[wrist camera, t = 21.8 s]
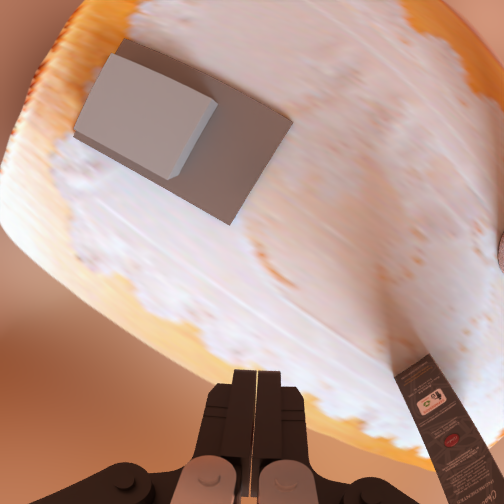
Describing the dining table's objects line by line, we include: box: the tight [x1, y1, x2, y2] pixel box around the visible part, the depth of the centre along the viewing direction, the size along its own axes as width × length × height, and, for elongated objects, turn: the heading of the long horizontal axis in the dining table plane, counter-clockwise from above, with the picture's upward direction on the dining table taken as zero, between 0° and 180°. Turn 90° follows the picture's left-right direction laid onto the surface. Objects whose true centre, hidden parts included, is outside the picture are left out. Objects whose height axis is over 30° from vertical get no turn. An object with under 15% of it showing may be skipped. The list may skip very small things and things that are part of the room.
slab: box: [73, 53, 218, 180], centre depth 27 cm, size 8×4×11 cm
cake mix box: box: [394, 354, 504, 504], centre depth 28 cm, size 22×6×30 cm, turn 38°
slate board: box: [73, 38, 293, 226], centre depth 30 cm, size 20×12×1 cm, turn 59°
